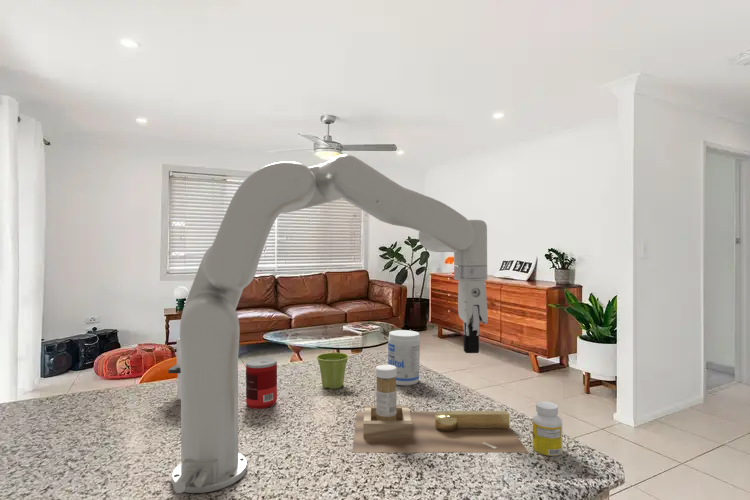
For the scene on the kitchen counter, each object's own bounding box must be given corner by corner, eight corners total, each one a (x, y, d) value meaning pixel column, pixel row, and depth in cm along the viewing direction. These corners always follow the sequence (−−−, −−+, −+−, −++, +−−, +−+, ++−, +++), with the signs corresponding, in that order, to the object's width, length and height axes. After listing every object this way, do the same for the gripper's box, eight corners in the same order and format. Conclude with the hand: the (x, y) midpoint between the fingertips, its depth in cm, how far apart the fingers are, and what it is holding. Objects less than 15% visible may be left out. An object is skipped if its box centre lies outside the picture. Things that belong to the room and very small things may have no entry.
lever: (511, 431, 90) (511, 417, 90) (436, 431, 90) (436, 417, 90) (504, 421, 95) (504, 408, 95) (433, 421, 95) (433, 408, 95)
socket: (411, 438, 87) (411, 423, 87) (363, 438, 87) (363, 423, 87) (408, 418, 97) (408, 405, 97) (364, 418, 97) (364, 405, 97)
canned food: (281, 398, 113) (280, 357, 113) (270, 410, 105) (270, 366, 105) (253, 397, 114) (253, 356, 114) (241, 408, 106) (240, 365, 106)
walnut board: (528, 457, 81) (528, 451, 81) (352, 457, 81) (352, 451, 81) (498, 415, 101) (498, 411, 101) (356, 415, 101) (356, 411, 101)
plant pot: (312, 383, 126) (312, 354, 126) (342, 379, 130) (342, 350, 130) (322, 393, 117) (322, 362, 117) (353, 388, 121) (353, 358, 121)
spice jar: (389, 422, 95) (389, 362, 95) (400, 429, 91) (400, 367, 91) (372, 426, 93) (372, 365, 93) (382, 434, 89) (382, 370, 89)
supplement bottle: (537, 445, 86) (537, 397, 86) (565, 454, 83) (566, 404, 83) (528, 455, 82) (528, 405, 82) (557, 465, 79) (557, 412, 79)
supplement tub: (382, 383, 125) (382, 334, 125) (395, 374, 134) (395, 328, 134) (412, 388, 121) (412, 337, 121) (424, 379, 129) (424, 331, 129)
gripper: (496, 275, 90) (496, 360, 91) (478, 271, 105) (479, 344, 106) (461, 275, 90) (461, 361, 91) (448, 271, 105) (449, 344, 106)
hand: (471, 352), depth 98 cm, fingers closed
